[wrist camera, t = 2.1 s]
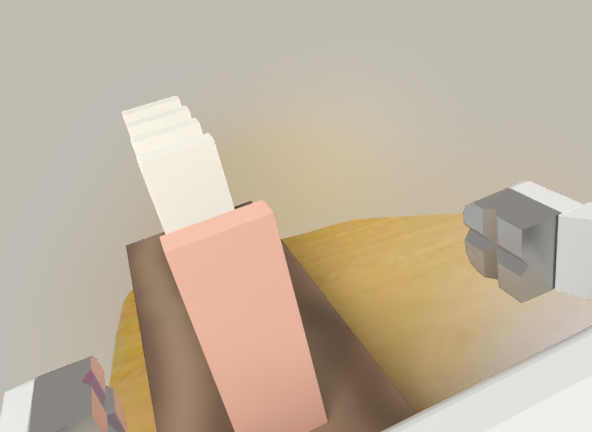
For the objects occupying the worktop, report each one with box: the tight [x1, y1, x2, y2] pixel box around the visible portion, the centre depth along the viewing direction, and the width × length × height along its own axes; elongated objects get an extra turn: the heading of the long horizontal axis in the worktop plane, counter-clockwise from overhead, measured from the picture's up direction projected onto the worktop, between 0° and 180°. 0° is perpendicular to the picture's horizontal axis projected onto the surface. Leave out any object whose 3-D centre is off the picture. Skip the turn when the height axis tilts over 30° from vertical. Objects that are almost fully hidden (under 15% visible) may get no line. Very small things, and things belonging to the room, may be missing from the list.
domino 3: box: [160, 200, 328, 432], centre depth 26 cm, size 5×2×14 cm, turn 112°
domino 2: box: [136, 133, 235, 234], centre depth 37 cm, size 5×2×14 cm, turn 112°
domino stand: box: [126, 201, 415, 432], centre depth 43 cm, size 14×34×10 cm, turn 22°
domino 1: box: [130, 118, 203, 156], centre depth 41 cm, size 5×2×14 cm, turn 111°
